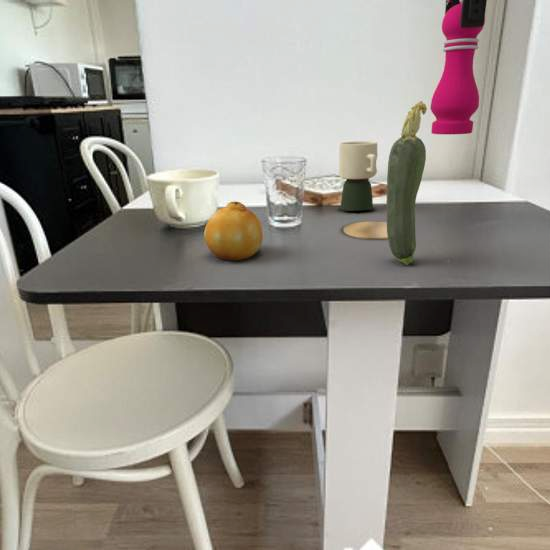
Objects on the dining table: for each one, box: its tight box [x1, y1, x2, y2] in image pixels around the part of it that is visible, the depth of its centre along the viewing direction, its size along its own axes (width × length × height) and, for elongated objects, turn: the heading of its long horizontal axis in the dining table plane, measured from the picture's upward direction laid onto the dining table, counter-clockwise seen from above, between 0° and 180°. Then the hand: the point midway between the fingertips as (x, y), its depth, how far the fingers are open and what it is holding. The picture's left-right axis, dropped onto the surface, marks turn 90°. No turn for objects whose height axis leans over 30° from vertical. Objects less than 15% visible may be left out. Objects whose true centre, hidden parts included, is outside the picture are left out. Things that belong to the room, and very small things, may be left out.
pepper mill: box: [430, 0, 486, 135], centre depth 68 cm, size 7×7×20 cm
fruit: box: [203, 200, 264, 261], centre depth 62 cm, size 8×8×8 cm
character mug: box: [338, 140, 378, 213], centre depth 84 cm, size 11×7×13 cm, turn 24°
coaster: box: [343, 220, 388, 240], centre depth 72 cm, size 10×10×1 cm
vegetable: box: [386, 100, 428, 266], centre depth 55 cm, size 4×4×20 cm
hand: (462, 29), depth 66 cm, fingers closed on pepper mill, 6 cm apart
